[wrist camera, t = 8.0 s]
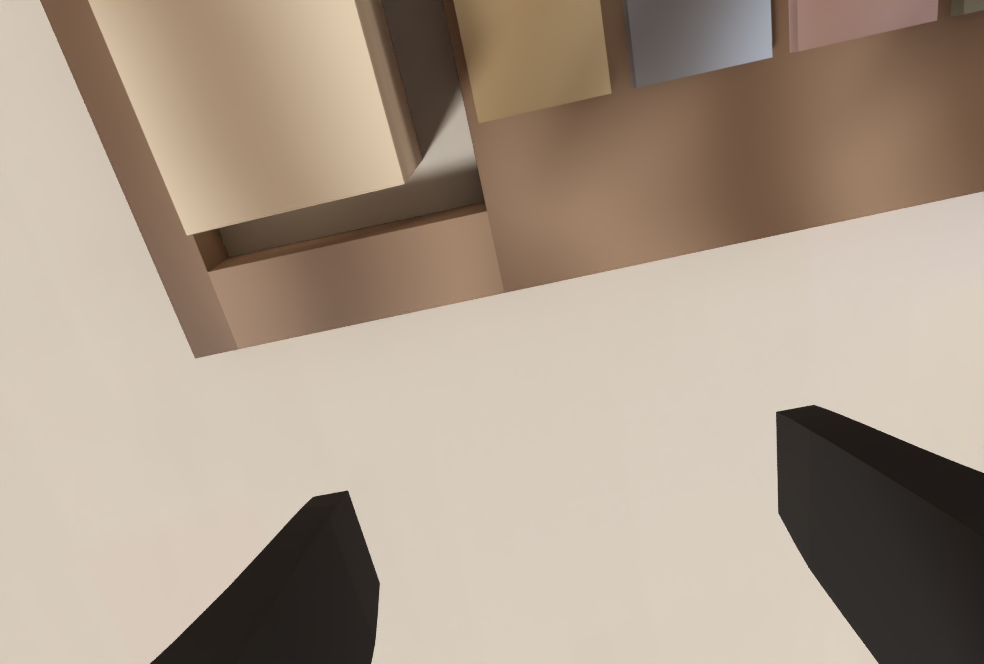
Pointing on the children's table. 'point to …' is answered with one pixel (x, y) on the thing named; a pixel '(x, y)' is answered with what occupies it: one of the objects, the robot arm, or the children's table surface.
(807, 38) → the puzzle board
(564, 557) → the children's table surface
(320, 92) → the maple block
